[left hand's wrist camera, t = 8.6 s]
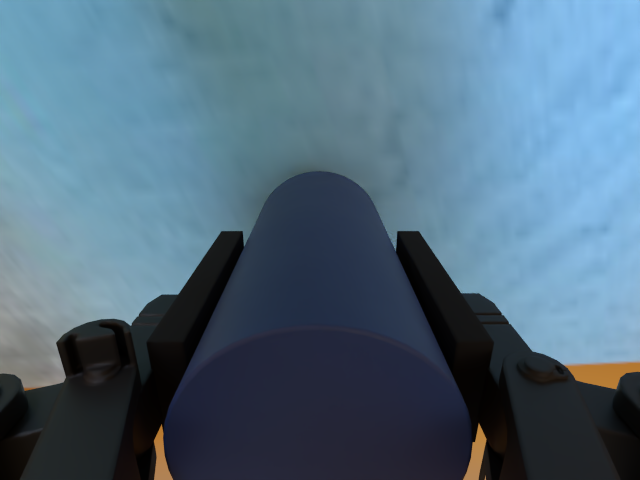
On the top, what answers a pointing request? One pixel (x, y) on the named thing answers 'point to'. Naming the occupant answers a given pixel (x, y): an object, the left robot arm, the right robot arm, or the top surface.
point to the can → (318, 357)
